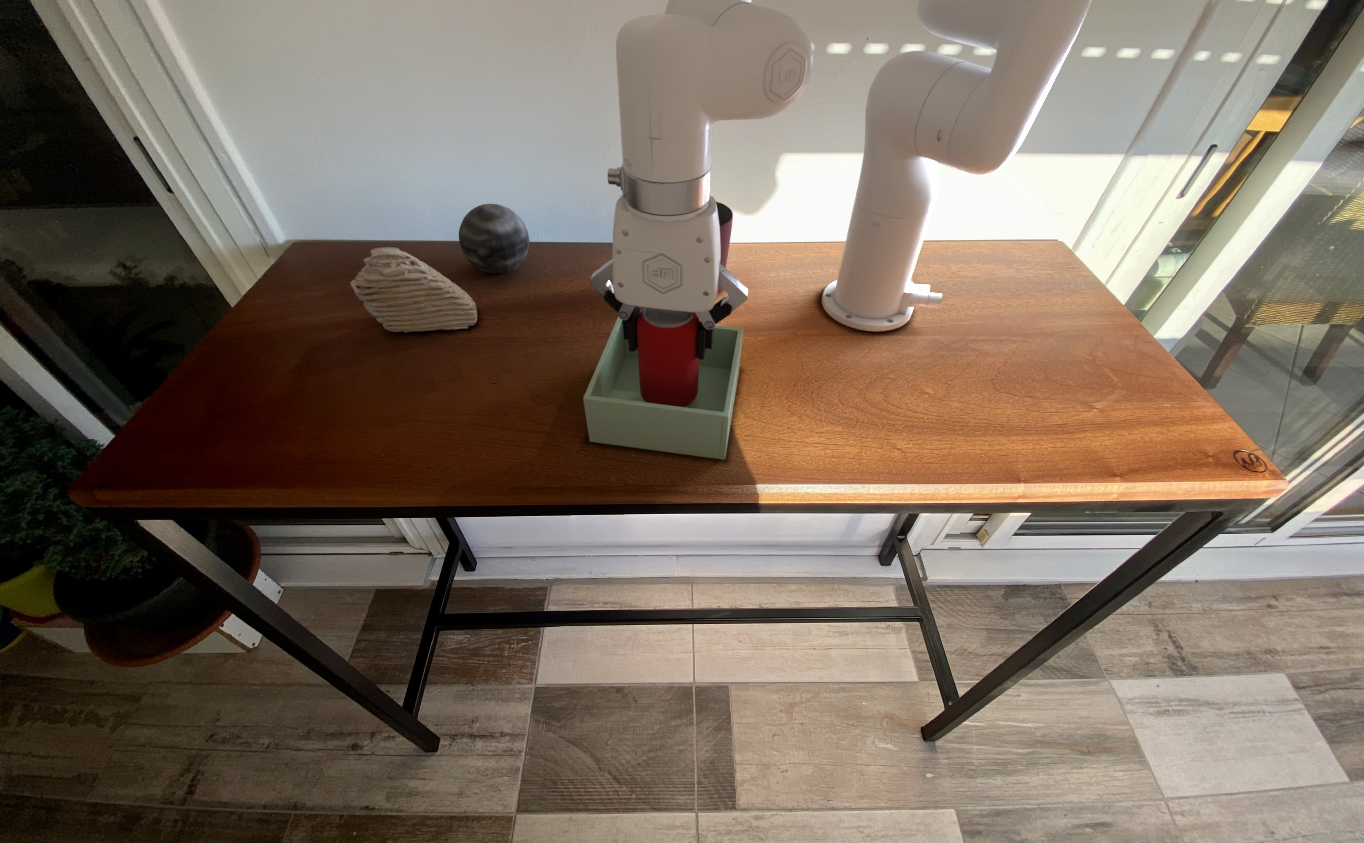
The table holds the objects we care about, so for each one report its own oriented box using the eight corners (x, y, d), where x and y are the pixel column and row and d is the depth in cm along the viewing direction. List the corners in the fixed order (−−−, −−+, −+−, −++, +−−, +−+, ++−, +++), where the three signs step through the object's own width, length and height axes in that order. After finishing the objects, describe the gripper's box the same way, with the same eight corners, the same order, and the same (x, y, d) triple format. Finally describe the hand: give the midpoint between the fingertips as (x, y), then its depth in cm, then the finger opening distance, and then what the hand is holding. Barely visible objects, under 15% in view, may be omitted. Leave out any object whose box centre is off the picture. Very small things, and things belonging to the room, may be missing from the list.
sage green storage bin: (739, 370, 75) (743, 328, 70) (724, 459, 65) (728, 416, 60) (622, 356, 77) (618, 314, 72) (589, 441, 66) (582, 398, 62)
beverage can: (700, 378, 72) (703, 293, 63) (695, 417, 67) (698, 331, 59) (644, 374, 72) (640, 289, 64) (636, 413, 68) (630, 326, 59)
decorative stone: (524, 289, 88) (511, 225, 81) (458, 285, 88) (439, 221, 81) (541, 254, 95) (530, 193, 88) (480, 251, 96) (464, 190, 88)
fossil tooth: (476, 340, 81) (359, 337, 79) (482, 311, 85) (371, 308, 83) (462, 267, 73) (330, 262, 71) (470, 240, 77) (345, 234, 75)
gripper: (558, 197, 51) (581, 360, 63) (763, 214, 49) (744, 379, 61) (583, 162, 56) (600, 319, 68) (769, 176, 54) (751, 336, 66)
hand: (668, 346), depth 65 cm, fingers closed on beverage can, 6 cm apart
